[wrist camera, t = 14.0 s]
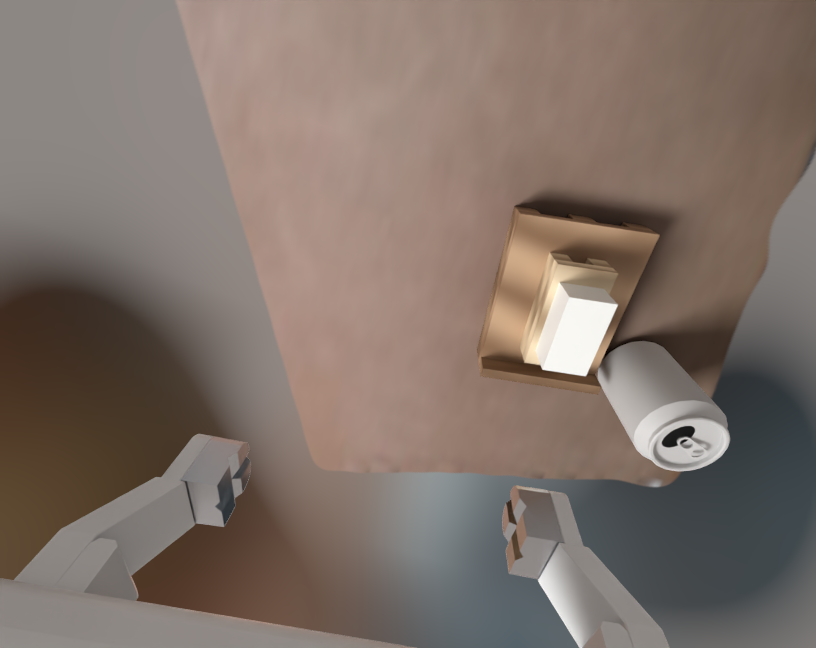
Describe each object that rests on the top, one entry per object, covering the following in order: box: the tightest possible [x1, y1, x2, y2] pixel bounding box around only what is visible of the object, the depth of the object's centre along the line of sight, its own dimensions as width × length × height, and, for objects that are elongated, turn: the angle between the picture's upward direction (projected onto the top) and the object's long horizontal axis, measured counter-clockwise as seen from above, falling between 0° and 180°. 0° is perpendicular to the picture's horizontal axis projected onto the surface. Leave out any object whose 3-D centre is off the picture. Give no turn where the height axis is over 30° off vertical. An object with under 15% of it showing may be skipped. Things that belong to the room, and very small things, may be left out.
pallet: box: [519, 252, 618, 365], centre depth 35 cm, size 10×5×3 cm, turn 173°
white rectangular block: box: [535, 282, 618, 376], centre depth 33 cm, size 7×4×3 cm, turn 173°
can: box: [598, 341, 730, 471], centre depth 38 cm, size 8×8×12 cm
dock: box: [477, 206, 660, 395], centre depth 37 cm, size 16×12×5 cm
